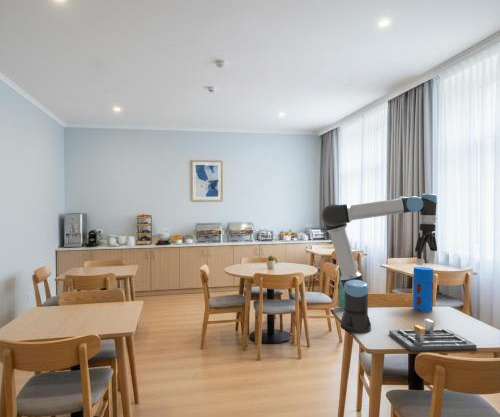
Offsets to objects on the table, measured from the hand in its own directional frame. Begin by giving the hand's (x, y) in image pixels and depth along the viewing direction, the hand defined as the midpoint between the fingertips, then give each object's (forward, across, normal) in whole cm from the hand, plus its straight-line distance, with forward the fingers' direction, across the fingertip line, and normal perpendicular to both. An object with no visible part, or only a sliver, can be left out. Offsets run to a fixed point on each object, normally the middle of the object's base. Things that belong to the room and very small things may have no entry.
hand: (425, 264), depth 190 cm
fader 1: (+30, -29, -12) cm, 44 cm away
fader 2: (+30, -16, -10) cm, 36 cm away
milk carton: (+34, -3, +43) cm, 55 cm away
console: (+32, -20, -13) cm, 40 cm away
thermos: (+32, +30, +14) cm, 47 cm away
